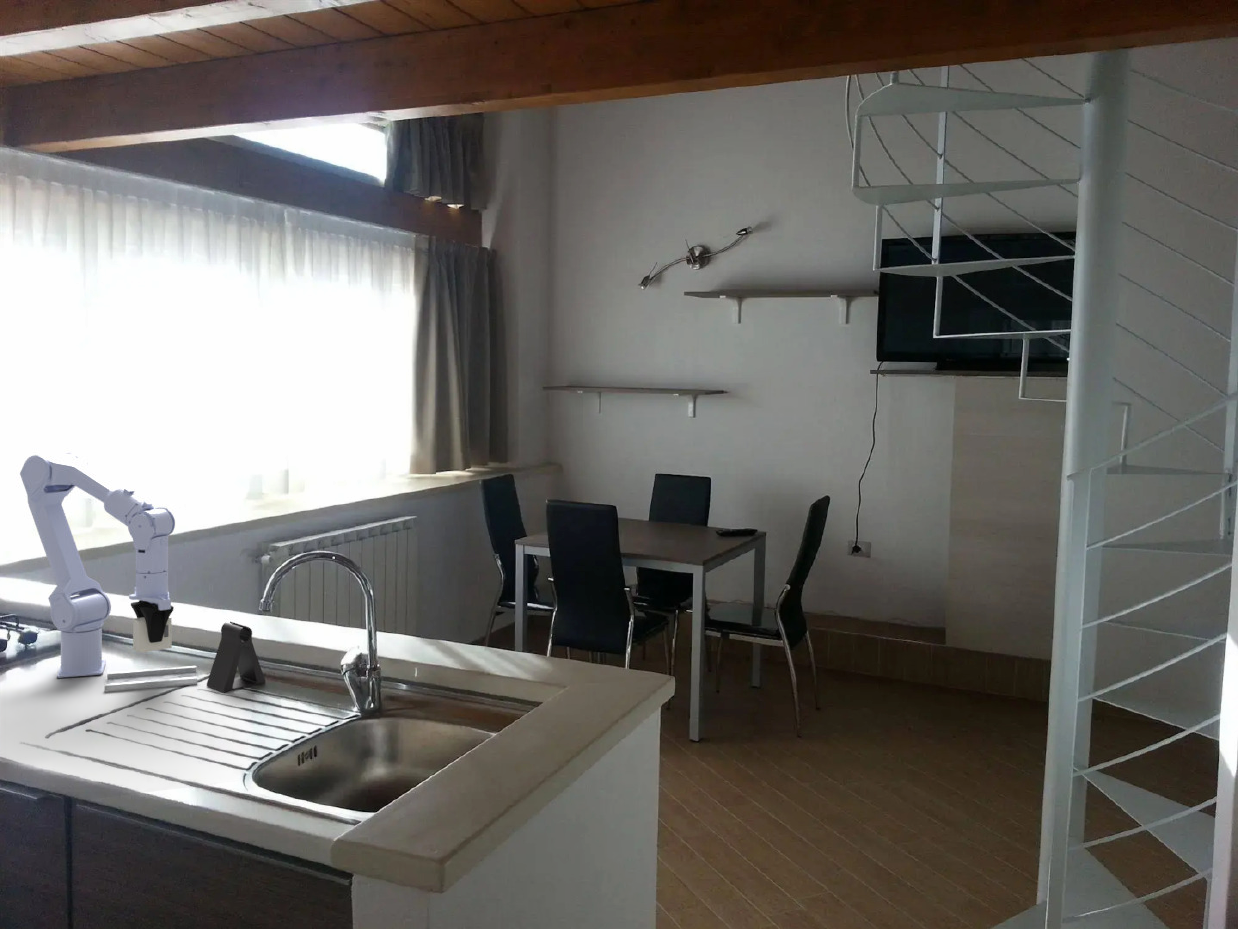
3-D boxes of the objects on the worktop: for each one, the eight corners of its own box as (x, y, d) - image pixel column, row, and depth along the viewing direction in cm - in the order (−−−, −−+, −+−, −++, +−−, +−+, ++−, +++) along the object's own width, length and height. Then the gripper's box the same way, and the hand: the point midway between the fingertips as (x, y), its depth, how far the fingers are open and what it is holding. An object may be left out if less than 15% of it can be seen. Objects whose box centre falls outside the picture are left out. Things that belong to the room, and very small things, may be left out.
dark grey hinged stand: (223, 693, 186) (223, 631, 185) (206, 686, 189) (206, 625, 188) (265, 683, 193) (266, 623, 192) (248, 676, 197) (248, 618, 196)
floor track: (107, 678, 192) (107, 672, 192) (196, 671, 199) (196, 665, 199) (104, 692, 184) (104, 685, 184) (197, 684, 191) (197, 678, 190)
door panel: (133, 649, 190) (132, 618, 189) (165, 644, 194) (165, 614, 194) (139, 653, 187) (139, 622, 187) (171, 647, 192) (171, 617, 191)
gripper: (117, 567, 192) (117, 635, 193) (143, 579, 182) (143, 651, 183) (155, 563, 197) (155, 629, 198) (182, 575, 187) (182, 645, 188)
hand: (152, 639), depth 191 cm, fingers closed on door panel, 3 cm apart
